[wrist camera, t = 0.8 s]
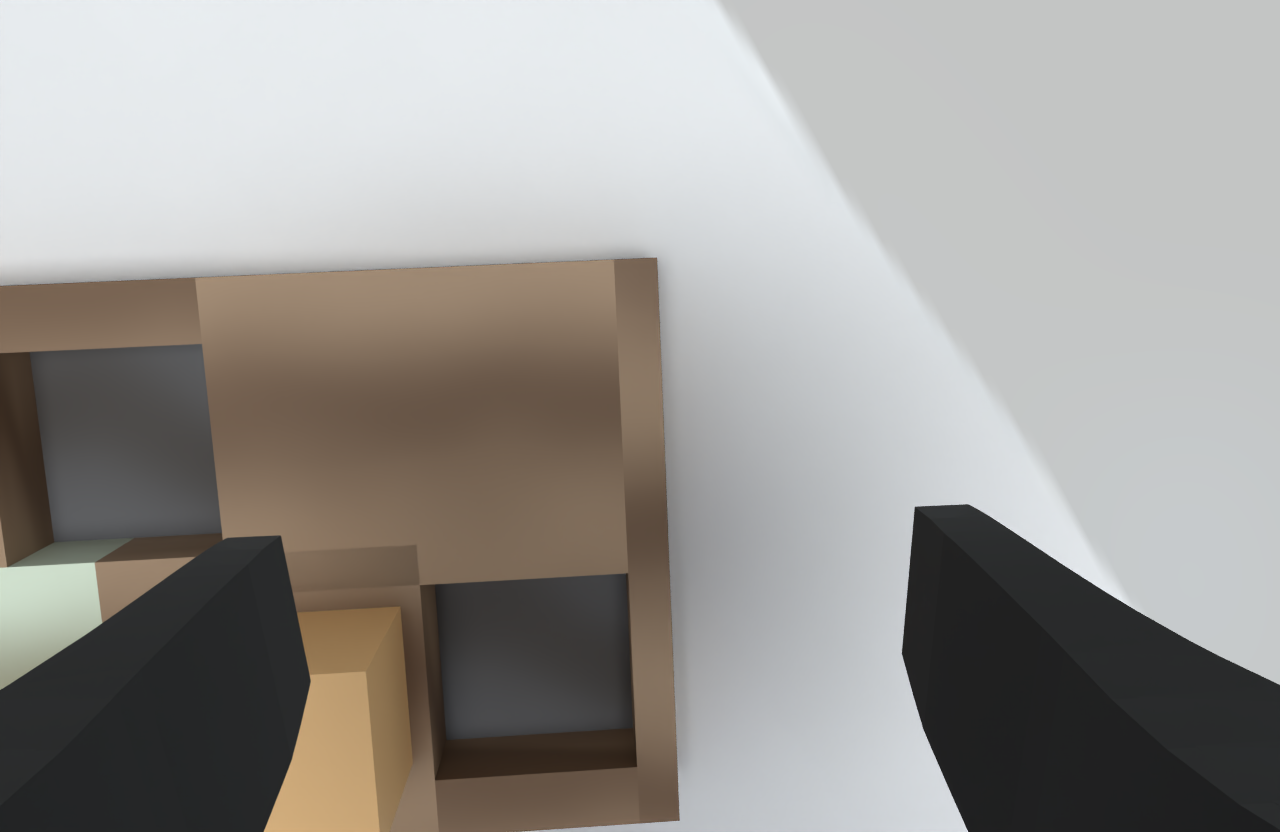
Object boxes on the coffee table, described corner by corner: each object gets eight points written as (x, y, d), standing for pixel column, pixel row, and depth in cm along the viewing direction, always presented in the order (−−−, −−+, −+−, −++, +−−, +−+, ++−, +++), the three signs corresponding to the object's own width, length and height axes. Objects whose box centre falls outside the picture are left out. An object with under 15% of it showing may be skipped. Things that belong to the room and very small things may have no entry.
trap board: (671, 772, 29) (679, 820, 26) (-39, 819, 28) (-100, 873, 25) (650, 258, 27) (657, 257, 24) (-119, 291, 26) (-193, 294, 23)
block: (412, 762, 26) (381, 854, 22) (247, 773, 25) (185, 868, 21) (400, 606, 25) (366, 671, 21) (230, 616, 25) (164, 683, 21)
